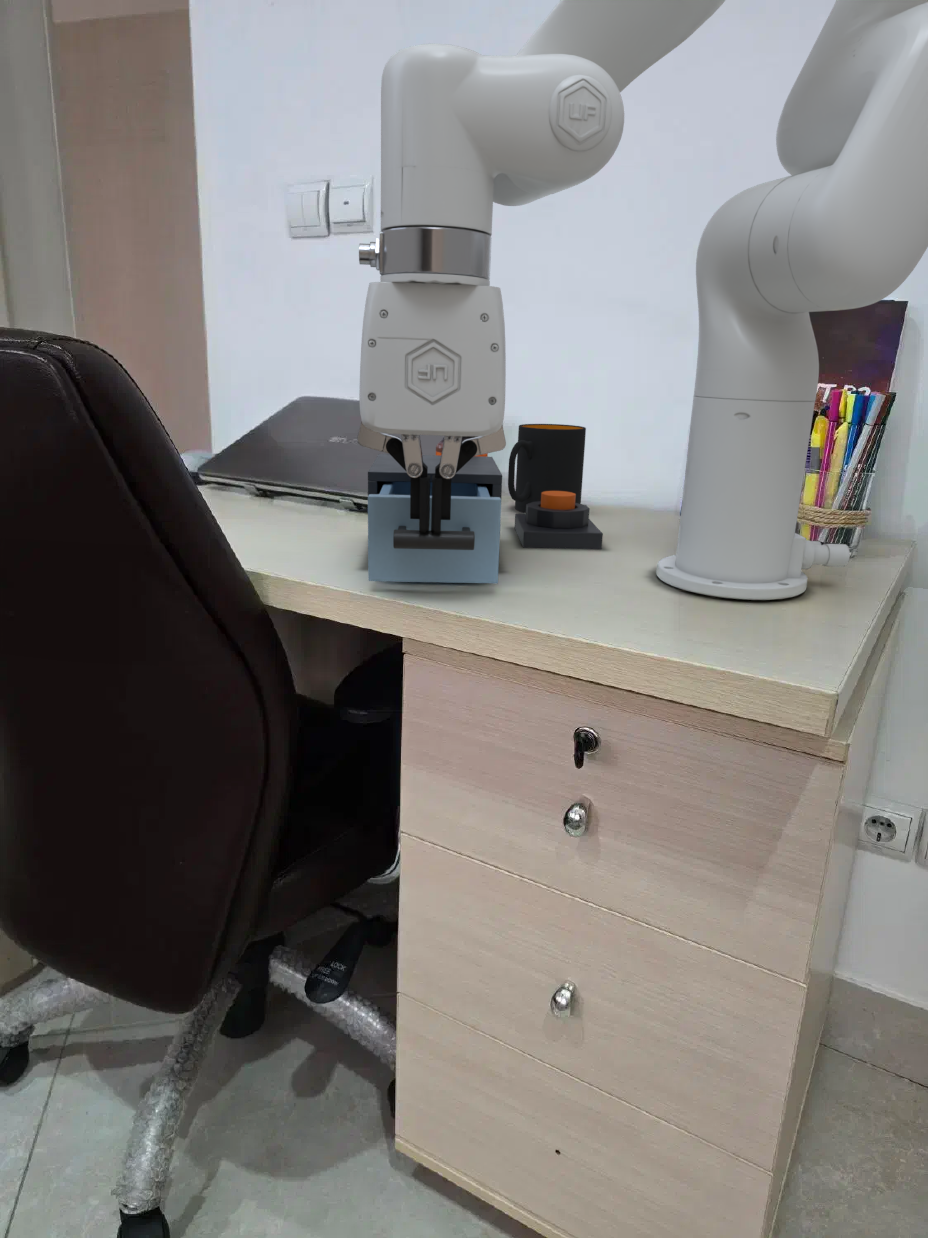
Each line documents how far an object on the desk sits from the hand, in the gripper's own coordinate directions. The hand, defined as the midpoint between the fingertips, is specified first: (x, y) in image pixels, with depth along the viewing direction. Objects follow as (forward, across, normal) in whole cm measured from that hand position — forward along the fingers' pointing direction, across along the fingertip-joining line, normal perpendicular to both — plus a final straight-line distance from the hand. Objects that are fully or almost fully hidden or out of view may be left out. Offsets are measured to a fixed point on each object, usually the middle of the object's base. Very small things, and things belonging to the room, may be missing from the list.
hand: (430, 528), depth 62 cm
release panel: (+6, +13, +25) cm, 29 cm away
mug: (+6, +13, +41) cm, 44 cm away
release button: (+3, +13, +25) cm, 29 cm away
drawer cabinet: (+6, 0, +17) cm, 18 cm away
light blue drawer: (+5, 0, +7) cm, 9 cm away
